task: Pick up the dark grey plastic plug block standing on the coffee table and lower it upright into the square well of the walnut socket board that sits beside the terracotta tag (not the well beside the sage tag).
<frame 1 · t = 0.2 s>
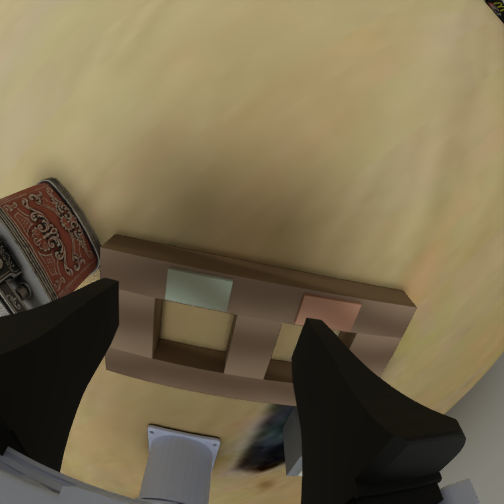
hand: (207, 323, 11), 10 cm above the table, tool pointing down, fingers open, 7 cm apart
lighter: (70, 223, 20), on the table
socket board: (251, 329, 23), on the table
plug: (306, 419, 28), on the table
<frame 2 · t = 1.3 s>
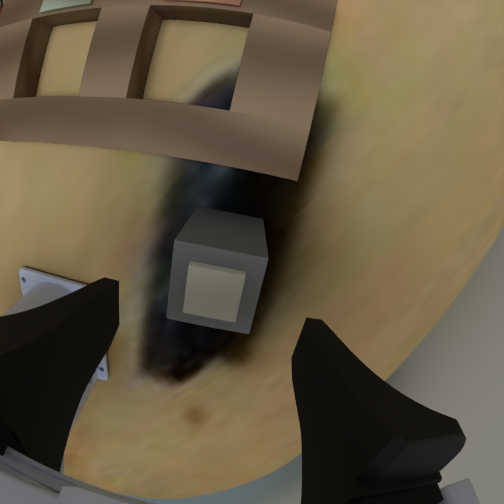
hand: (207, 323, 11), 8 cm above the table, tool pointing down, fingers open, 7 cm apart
socket board: (128, 57, 15), on the table
plug: (224, 243, 19), on the table
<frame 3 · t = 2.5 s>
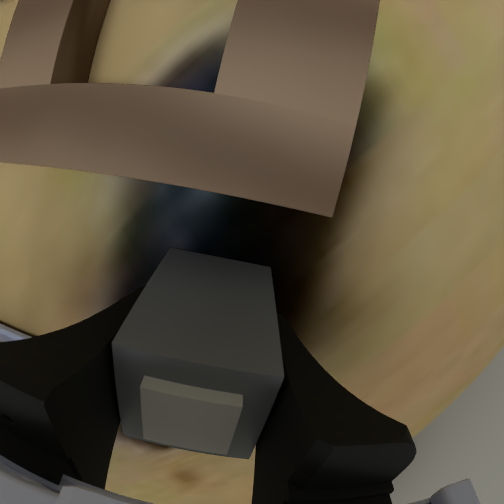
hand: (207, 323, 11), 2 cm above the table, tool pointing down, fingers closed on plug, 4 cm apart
socket board: (71, 28, 8), on the table
plug: (212, 300, 13), on the table, touching gripper
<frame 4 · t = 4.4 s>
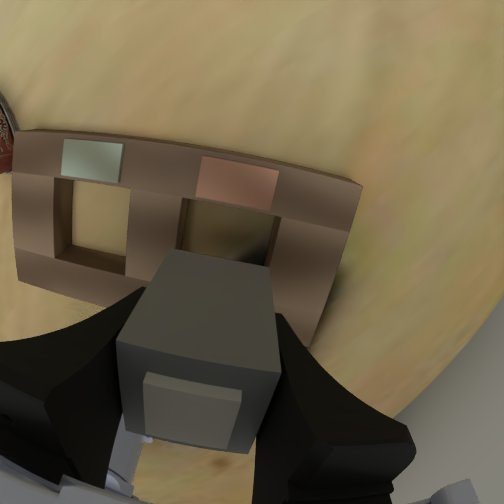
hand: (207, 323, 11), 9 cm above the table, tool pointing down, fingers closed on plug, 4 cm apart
lighter: (4, 128, 17), on the table
socket board: (162, 226, 20), on the table
plug: (212, 300, 13), point 7 cm above the table, touching gripper
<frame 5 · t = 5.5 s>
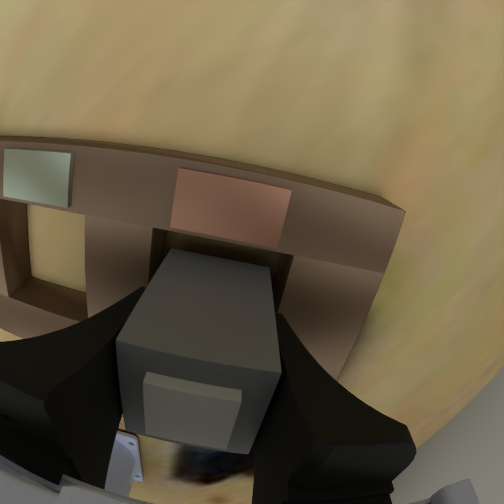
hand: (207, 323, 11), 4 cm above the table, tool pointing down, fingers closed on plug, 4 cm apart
socket board: (134, 259, 15), on the table
plug: (212, 300, 13), point 2 cm above the table, touching gripper
when the fingers open (3 cm above the table, at t = 6.3 s): plug stays where it is, resting in socket board.
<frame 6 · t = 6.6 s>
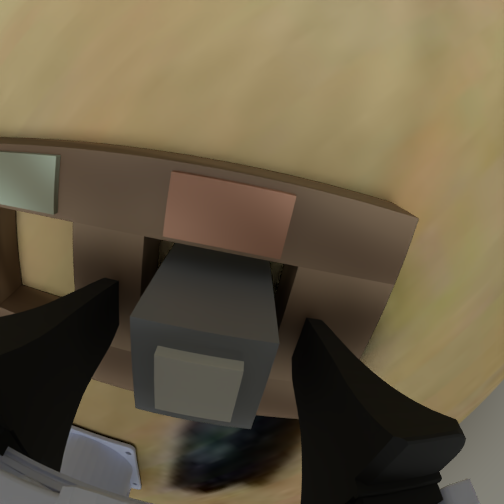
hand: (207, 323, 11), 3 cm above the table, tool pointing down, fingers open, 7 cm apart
socket board: (126, 267, 14), on the table
plug: (216, 287, 14), resting in socket board
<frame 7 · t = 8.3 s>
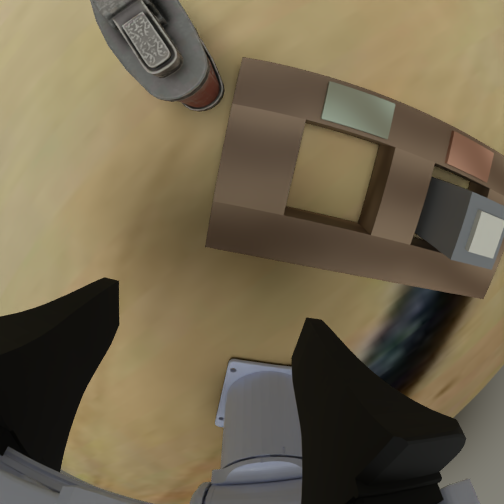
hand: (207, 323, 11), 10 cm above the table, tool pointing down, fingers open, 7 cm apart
lighter: (181, 58, 16), on the table
socket board: (388, 189, 19), on the table
plug: (435, 206, 20), resting in socket board
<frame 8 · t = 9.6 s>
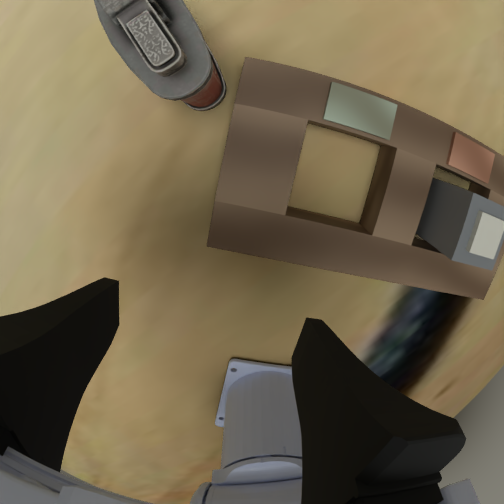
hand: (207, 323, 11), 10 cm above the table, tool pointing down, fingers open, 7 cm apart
lighter: (183, 58, 16), on the table
socket board: (389, 190, 19), on the table
plug: (435, 207, 20), resting in socket board
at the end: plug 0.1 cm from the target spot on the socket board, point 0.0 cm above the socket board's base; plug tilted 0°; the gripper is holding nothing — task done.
